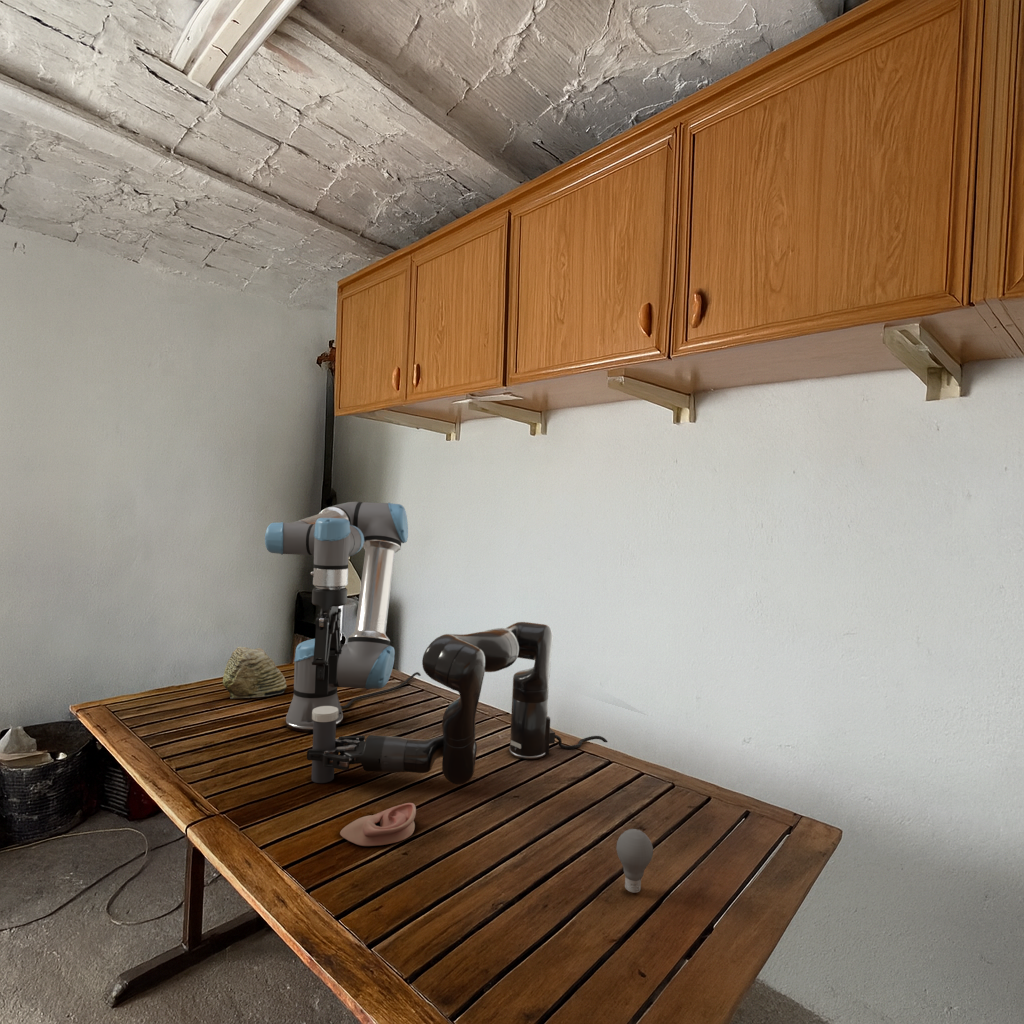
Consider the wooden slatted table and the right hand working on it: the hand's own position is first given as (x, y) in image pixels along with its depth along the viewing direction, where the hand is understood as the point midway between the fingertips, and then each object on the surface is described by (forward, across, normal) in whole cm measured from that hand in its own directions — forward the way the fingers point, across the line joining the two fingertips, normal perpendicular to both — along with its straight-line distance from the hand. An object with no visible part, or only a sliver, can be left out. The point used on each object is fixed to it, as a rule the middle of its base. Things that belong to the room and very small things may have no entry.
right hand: (312, 749), depth 142 cm
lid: (-3, 0, -9) cm, 9 cm away
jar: (-3, 0, +6) cm, 7 cm away
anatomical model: (-21, +21, +6) cm, 30 cm away
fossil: (+38, -54, +6) cm, 66 cm away
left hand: (-3, 0, -14) cm, 14 cm away
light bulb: (-67, +34, +6) cm, 75 cm away
